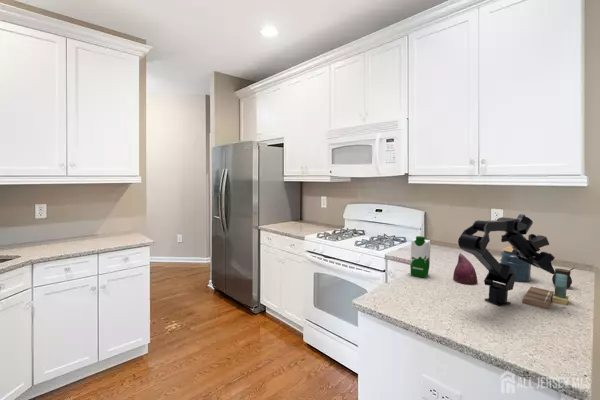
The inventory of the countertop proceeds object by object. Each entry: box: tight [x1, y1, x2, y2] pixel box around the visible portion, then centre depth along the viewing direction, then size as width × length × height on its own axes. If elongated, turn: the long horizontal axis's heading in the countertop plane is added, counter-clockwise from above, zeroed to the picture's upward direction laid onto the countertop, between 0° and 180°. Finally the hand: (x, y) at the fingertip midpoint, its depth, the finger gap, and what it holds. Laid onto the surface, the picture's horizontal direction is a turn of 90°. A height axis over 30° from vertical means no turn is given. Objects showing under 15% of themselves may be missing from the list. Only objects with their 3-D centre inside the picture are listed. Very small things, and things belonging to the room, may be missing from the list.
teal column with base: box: [551, 274, 569, 306], centre depth 127 cm, size 7×5×11 cm, turn 136°
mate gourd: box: [551, 267, 575, 289], centre depth 146 cm, size 7×8×10 cm
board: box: [522, 286, 555, 310], centre depth 129 cm, size 20×8×2 cm, turn 136°
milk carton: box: [409, 235, 431, 279], centre depth 158 cm, size 9×9×20 cm
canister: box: [499, 245, 532, 283], centre depth 157 cm, size 13×13×18 cm
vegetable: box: [452, 252, 478, 286], centre depth 151 cm, size 10×10×15 cm
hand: (546, 270), depth 127 cm, fingers open, 9 cm apart
